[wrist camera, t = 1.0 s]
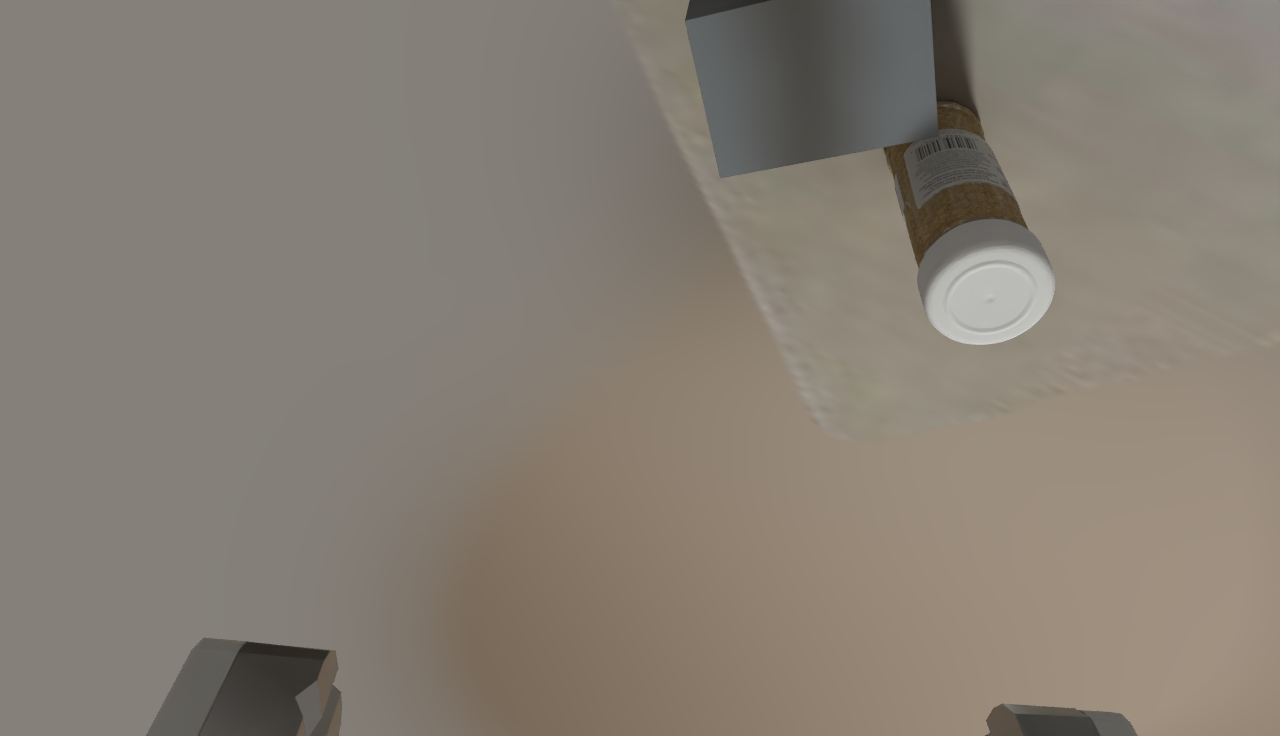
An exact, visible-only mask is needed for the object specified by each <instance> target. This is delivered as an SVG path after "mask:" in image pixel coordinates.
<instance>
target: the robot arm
mask: <svg viewBox="0 0 1280 736" xmlns="http://www.w3.org/2000/svg"><path fill="white" fill-rule="evenodd" d="M337 671H338V662H337V657H336V651H334V650H324V649H314V648H304V647H294V646H284V645H274V644H265V643H254V642H248V641H236V640H225V639H212V638H203V639H202V640H201V641H200V642H199V643H198V644H197V645H196V646H195V647H194V648H193V649H192V650H191V652H190V654H189V656H188V658H187V660H186V662H185V664H184V665H183V667H182V669H181V671H180V673H179V675H178V677H177V678H176V681H175V682H174V684H173V686H172V688H171V690H170V692H169V693H168V696H167V697H166V699H165V701H164V703H163V705H162V707H161V709H160V711H159V712H158V714H157V716H156V718H155V720H154V722H153V724H152V726H151V727H150V729H149V731H148V733H147V735H146V736H339V731H340V726H341V715H342V699H341V692H340V691H339V690H338V689H337V688H336V687H335V686H334V685H333V683H334V680H335V677H336V674H337ZM986 722H987V724H988V727H989V730H990V733H989V734H987V735H985V736H1137V734H1136V732H1135V730H1134V728H1133V726H1132V725H1131V723H1130V722H1129V721H1128V720H1127V719H1126V718H1125V717H1124V716H1123V715H1122V714H1119V713H1113V712H1100V711H1083V710H1076V709H1075V708H1060V707H1045V706H1029V705H1014V704H1001V705H999V706H997V707H995V708H993V710H992V711H991V713H990V715H989V717H988V718H987V720H986Z"/></svg>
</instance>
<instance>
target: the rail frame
mask: <svg viewBox="0 0 1280 736" xmlns="http://www.w3.org/2000/svg"><path fill="white" fill-rule="evenodd" d="M685 23H686V27H687V32H688V36H689V41H690V45H691V50H692V54H693V59H694V63H695V67H696V72H697V76H698V81H699V85H700V90H701V94H702V99H703V103H704V108H705V112H706V117H707V121H708V125H709V130H710V134H711V139H712V143H713V148H714V152H715V157H716V161H717V166H718V170H719V174H720V178H724V177H730V176H735V175H740V174H746V173H751V172H756V171H761V170H767V169H772V168H777V167H782V166H788V165H793V164H798V163H804V162H809V161H814V160H819V159H825V158H830V157H835V156H840V155H846V154H851V153H856V152H862V151H867V150H872V149H877V148H883V147H888V146H893V145H898V144H904V143H909V142H914V141H920V140H925V139H930V138H935V137H939V135H938V118H937V102H936V85H935V68H934V52H933V35H932V18H931V2H930V0H690V2H689V6H688V10H687V15H686V19H685Z"/></svg>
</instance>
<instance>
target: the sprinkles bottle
mask: <svg viewBox="0 0 1280 736" xmlns="http://www.w3.org/2000/svg"><path fill="white" fill-rule="evenodd" d="M936 102H937V118H938V135H939V137H935V138H930V139H925V140H920V141H914V142H909V143H904V144H898V145H893V146H888V147H886V159H887V164H888V167H889V169H890V171H891V173H892V174H893V177H894V183H895V190H896V194H897V198H898V202H899V206H900V209H901V213H902V216H903V220H904V222H905V225H906V227H907V229H908V233H909V237H910V240H911V244H912V247H913V251H914V254H915V259H916V262H917V265H918V268H919V271H918V289H919V292H920V296H921V300H922V303H923V306H924V309H925V312H926V315H927V317H928V319H929V320H930V322H931V323H932V325H933V326H934V327H935V328H936V329H937V330H938V331H939V332H940V333H942V334H943V335H945V336H947V337H948V338H950V339H952V340H955V341H958V342H962V343H966V344H974V345H984V344H993V343H999V342H1003V341H1006V340H1008V339H1011V338H1014V337H1016V336H1018V335H1020V334H1021V333H1023V332H1025V331H1026V330H1028V329H1029V328H1031V327H1032V326H1033V325H1034V324H1035V323H1036V322H1037V321H1038V320H1039V319H1040V318H1041V317H1042V316H1043V315H1044V314H1045V312H1046V311H1047V309H1048V307H1049V305H1050V303H1051V301H1052V299H1053V296H1054V291H1055V277H1054V272H1053V269H1052V266H1051V264H1050V262H1049V260H1048V257H1047V255H1046V253H1045V251H1044V249H1043V247H1042V245H1041V243H1040V241H1039V240H1038V239H1037V238H1036V236H1035V235H1034V234H1033V233H1032V232H1030V231H1029V230H1028V228H1027V225H1026V223H1025V221H1024V219H1023V217H1022V215H1021V211H1020V208H1019V205H1018V203H1017V201H1016V198H1015V196H1014V194H1013V192H1012V190H1011V188H1010V186H1009V184H1008V182H1007V180H1006V178H1005V176H1004V174H1003V172H1002V170H1001V168H1000V165H999V163H998V161H997V159H996V157H995V155H994V153H993V151H992V149H991V148H990V146H989V145H988V144H987V142H986V141H985V138H984V132H983V129H982V126H981V123H980V121H979V120H978V119H977V118H976V116H975V115H974V114H973V112H971V111H970V110H969V109H968V108H966V107H964V106H962V105H960V104H958V103H955V102H949V101H936Z"/></svg>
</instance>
